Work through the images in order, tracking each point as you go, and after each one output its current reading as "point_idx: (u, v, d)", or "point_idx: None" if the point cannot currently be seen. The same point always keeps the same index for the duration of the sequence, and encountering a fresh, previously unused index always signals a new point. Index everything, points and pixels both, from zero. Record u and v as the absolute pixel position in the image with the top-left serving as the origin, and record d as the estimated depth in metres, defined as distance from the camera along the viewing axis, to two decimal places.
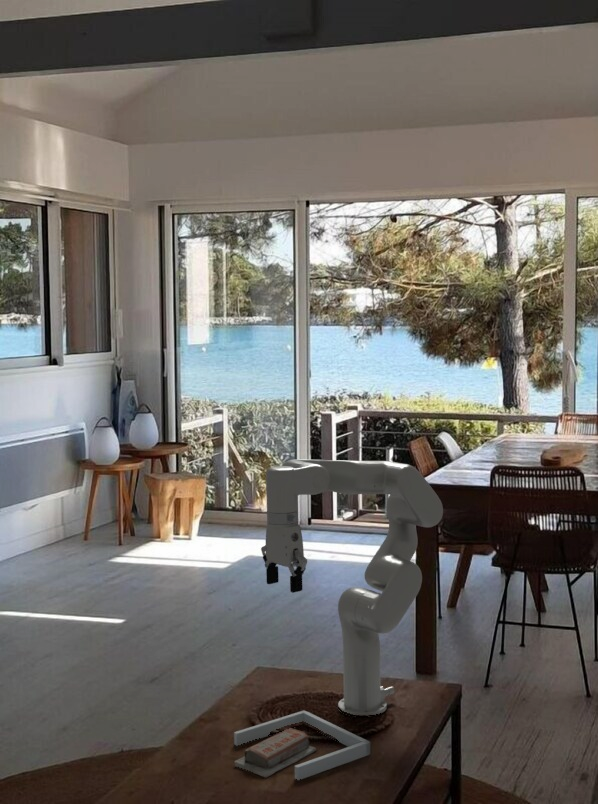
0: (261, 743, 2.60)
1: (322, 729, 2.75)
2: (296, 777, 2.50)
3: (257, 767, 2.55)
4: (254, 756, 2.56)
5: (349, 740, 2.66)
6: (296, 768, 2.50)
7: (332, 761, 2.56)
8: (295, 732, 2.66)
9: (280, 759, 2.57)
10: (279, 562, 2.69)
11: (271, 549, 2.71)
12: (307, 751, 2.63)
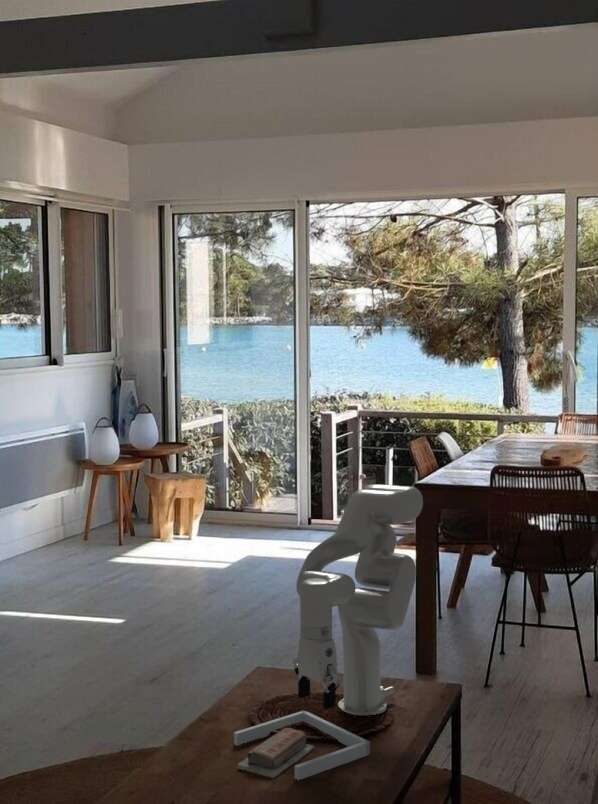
0: (263, 744, 2.59)
1: (322, 729, 2.75)
2: (296, 777, 2.50)
3: (262, 768, 2.54)
4: (258, 758, 2.55)
5: (349, 740, 2.66)
6: (296, 768, 2.50)
7: (332, 761, 2.56)
8: (293, 731, 2.67)
9: (284, 759, 2.57)
10: (312, 677, 2.65)
11: (304, 663, 2.67)
12: (306, 749, 2.64)
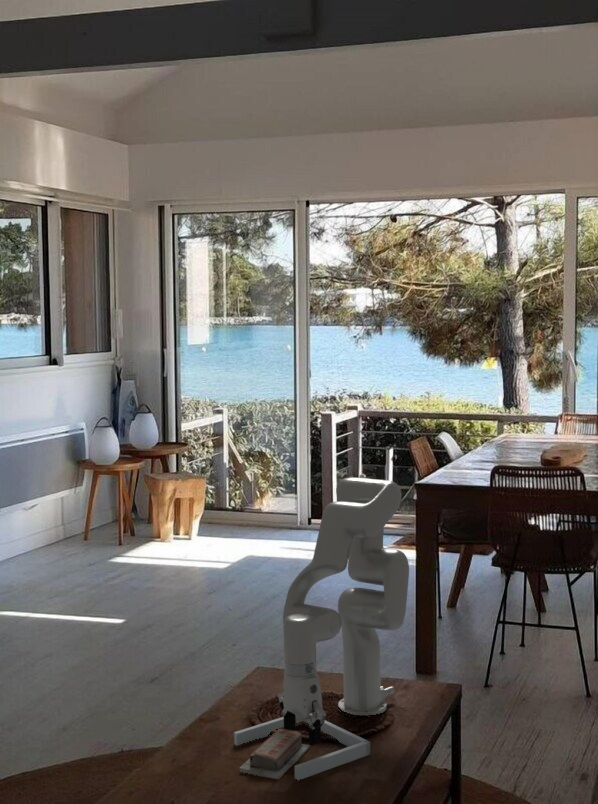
0: (263, 746, 2.58)
1: (322, 729, 2.75)
2: (296, 777, 2.50)
3: (265, 770, 2.53)
4: (261, 760, 2.54)
5: (349, 740, 2.66)
6: (296, 768, 2.50)
7: (332, 761, 2.56)
8: (288, 732, 2.66)
9: (285, 760, 2.57)
10: (297, 713, 2.63)
11: (289, 699, 2.65)
12: (303, 749, 2.65)
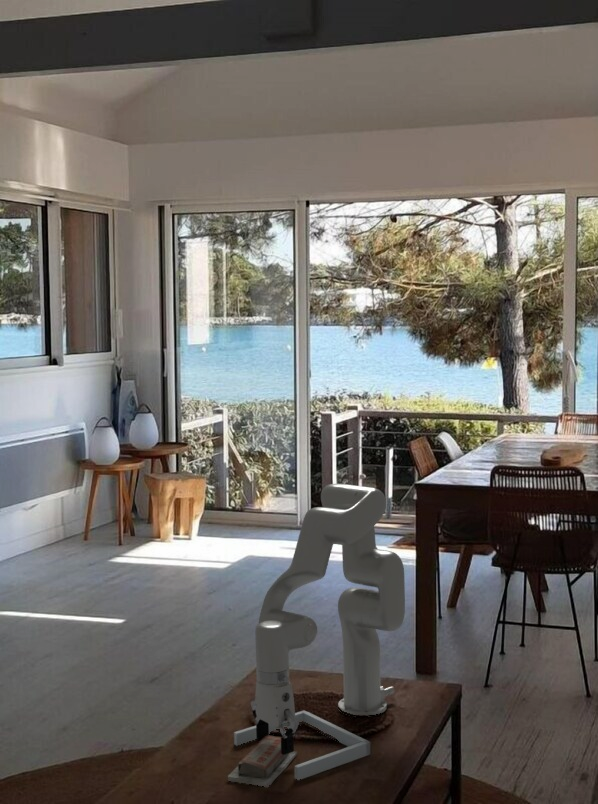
0: (251, 754, 2.54)
1: (322, 729, 2.75)
2: (296, 777, 2.50)
3: (254, 778, 2.49)
4: (249, 768, 2.50)
5: (349, 740, 2.66)
6: (296, 768, 2.50)
7: (332, 761, 2.56)
8: (275, 738, 2.63)
9: (274, 767, 2.53)
10: (269, 722, 2.59)
11: (261, 707, 2.60)
12: (291, 756, 2.61)
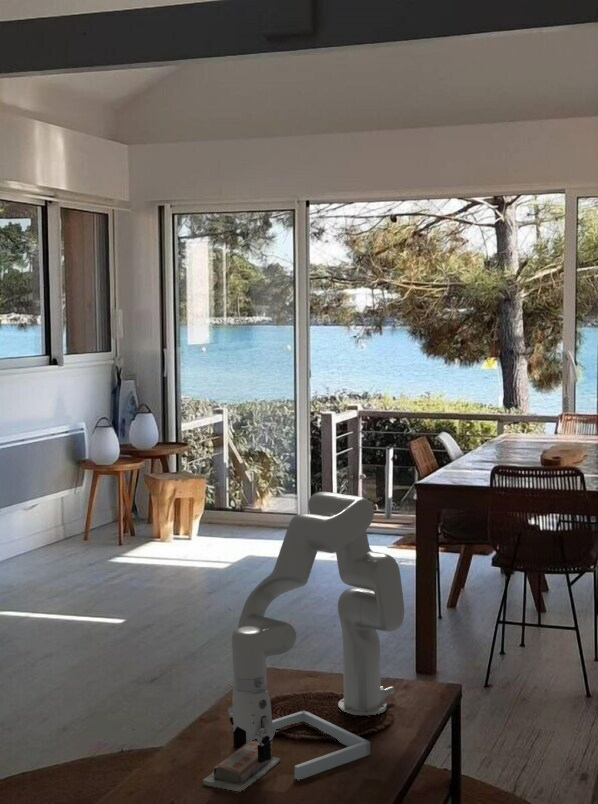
0: (228, 758, 2.52)
1: (322, 729, 2.75)
2: (296, 777, 2.50)
3: (229, 783, 2.47)
4: (224, 773, 2.48)
5: (349, 740, 2.66)
6: (296, 768, 2.50)
7: (332, 761, 2.56)
8: (258, 744, 2.60)
9: (251, 773, 2.50)
10: (246, 729, 2.55)
11: (238, 714, 2.56)
12: (273, 762, 2.58)
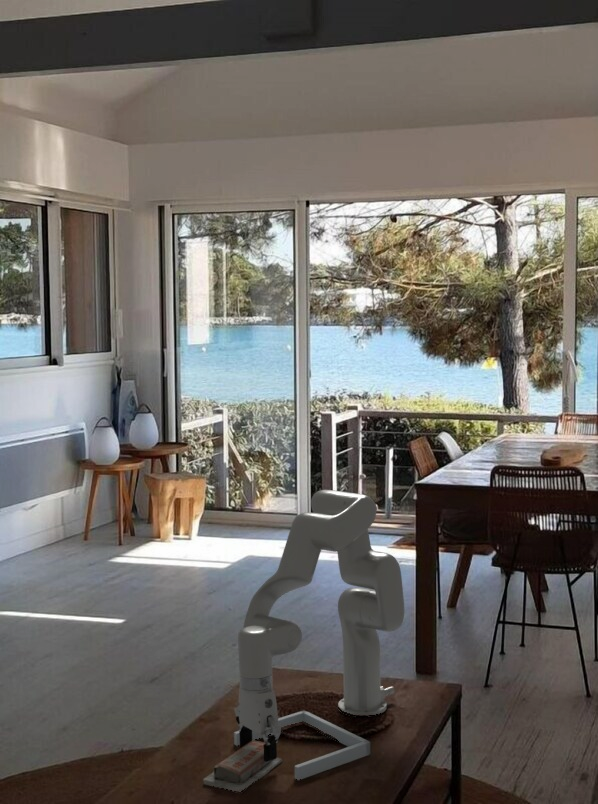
0: (229, 758, 2.52)
1: (322, 729, 2.75)
2: (296, 777, 2.50)
3: (229, 783, 2.47)
4: (224, 772, 2.48)
5: (349, 740, 2.66)
6: (296, 768, 2.50)
7: (332, 761, 2.56)
8: (260, 744, 2.60)
9: (251, 773, 2.50)
10: (252, 728, 2.56)
11: (244, 713, 2.57)
12: (274, 763, 2.58)
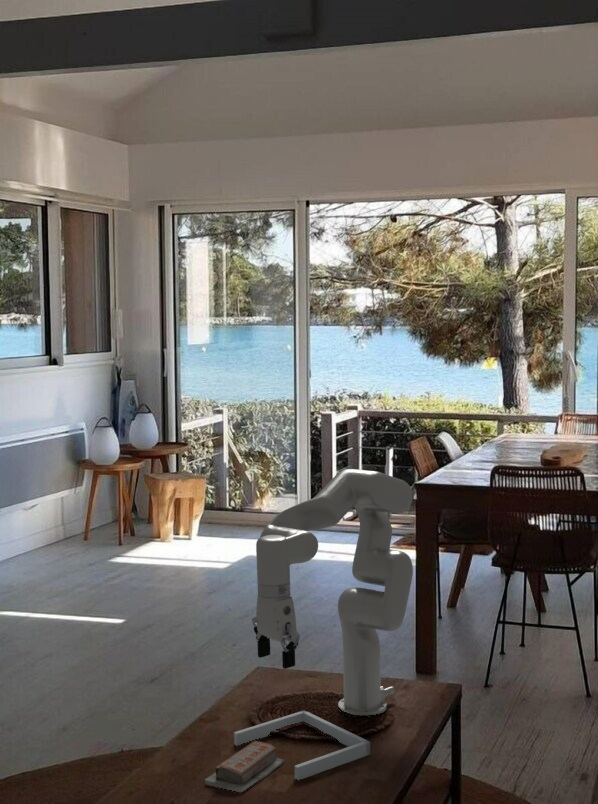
0: (231, 759, 2.52)
1: (322, 729, 2.75)
2: (296, 777, 2.50)
3: (230, 784, 2.47)
4: (226, 773, 2.48)
5: (349, 740, 2.66)
6: (296, 768, 2.50)
7: (332, 761, 2.56)
8: (262, 745, 2.59)
9: (253, 774, 2.50)
10: (271, 636, 2.57)
11: (262, 622, 2.59)
12: (276, 763, 2.57)
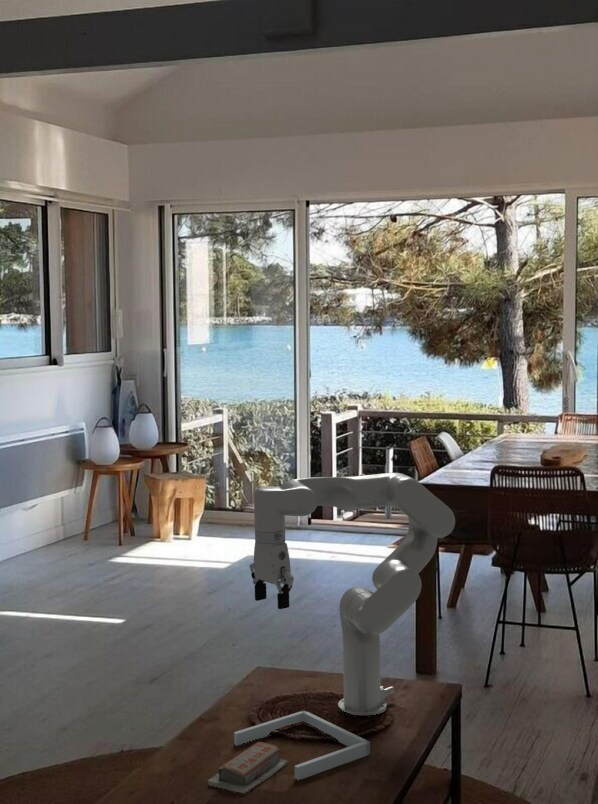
0: (234, 759, 2.51)
1: (322, 729, 2.75)
2: (296, 777, 2.50)
3: (233, 785, 2.47)
4: (229, 774, 2.47)
5: (349, 740, 2.66)
6: (296, 768, 2.50)
7: (332, 761, 2.56)
8: (266, 745, 2.59)
9: (256, 775, 2.49)
10: (267, 580, 2.78)
11: (259, 567, 2.79)
12: (279, 764, 2.57)
